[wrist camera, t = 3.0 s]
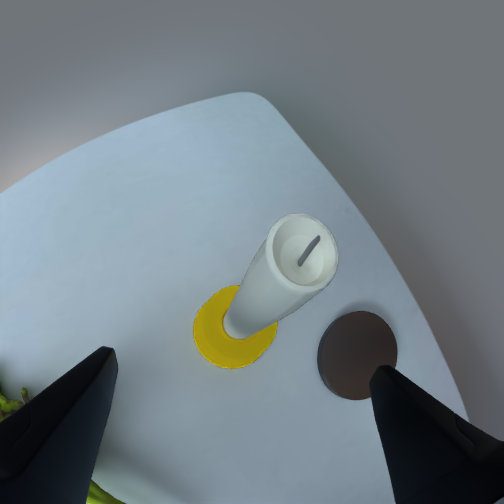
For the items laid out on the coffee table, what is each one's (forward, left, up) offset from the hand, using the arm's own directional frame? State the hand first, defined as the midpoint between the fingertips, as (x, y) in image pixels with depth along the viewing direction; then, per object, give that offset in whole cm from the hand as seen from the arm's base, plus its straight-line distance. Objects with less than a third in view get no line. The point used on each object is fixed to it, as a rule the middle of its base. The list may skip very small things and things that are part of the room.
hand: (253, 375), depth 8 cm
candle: (+2, -1, -11) cm, 11 cm away
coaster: (-4, -9, -10) cm, 14 cm away
